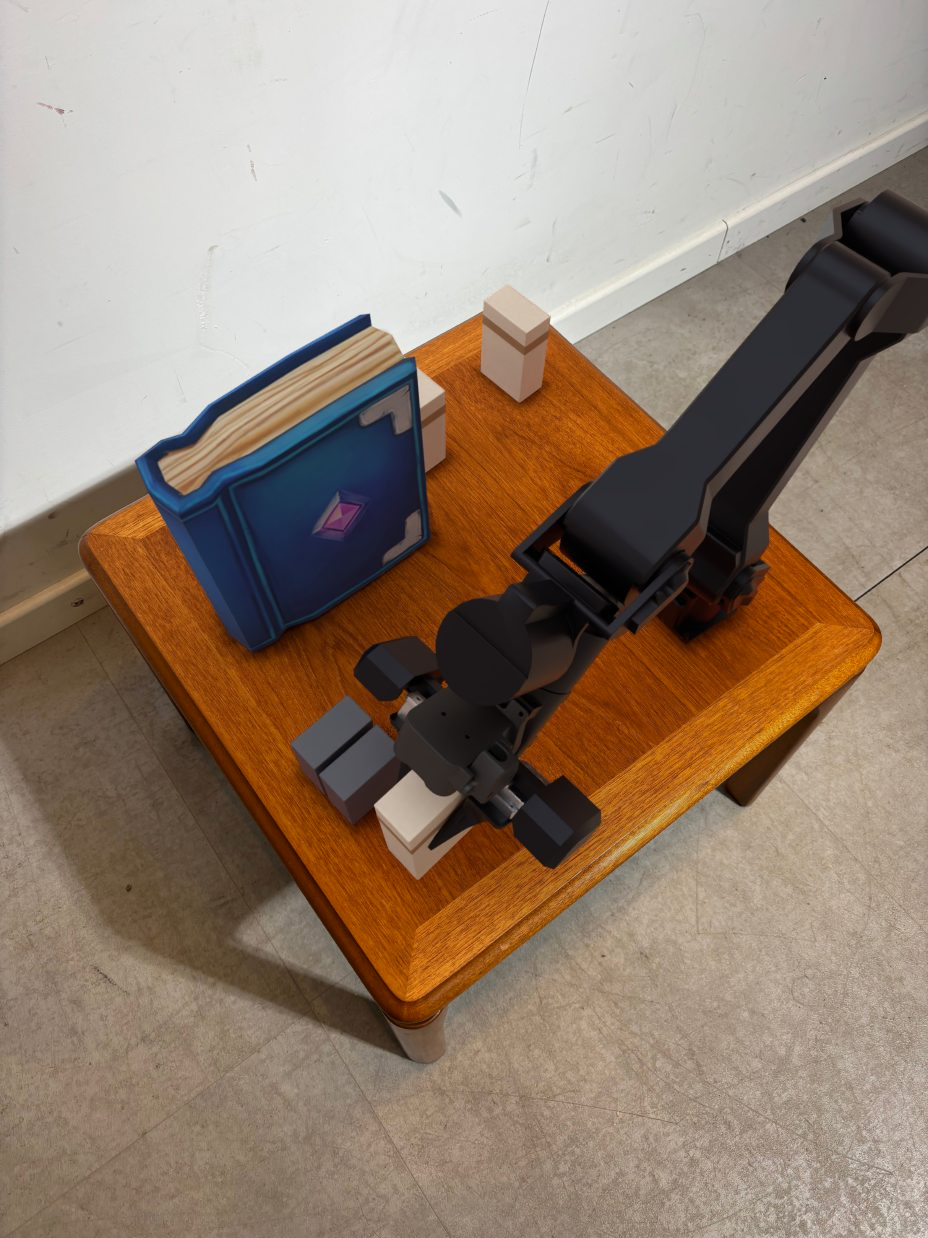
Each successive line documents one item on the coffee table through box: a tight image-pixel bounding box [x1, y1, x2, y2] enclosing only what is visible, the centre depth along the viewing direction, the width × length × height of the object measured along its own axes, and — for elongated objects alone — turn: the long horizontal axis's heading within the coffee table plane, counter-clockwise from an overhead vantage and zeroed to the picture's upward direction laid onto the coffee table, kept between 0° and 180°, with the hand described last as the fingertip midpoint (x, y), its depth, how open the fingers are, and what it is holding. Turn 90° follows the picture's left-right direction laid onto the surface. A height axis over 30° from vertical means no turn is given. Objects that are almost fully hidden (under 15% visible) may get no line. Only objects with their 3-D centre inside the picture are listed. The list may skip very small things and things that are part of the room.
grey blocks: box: [289, 694, 401, 826], centre depth 73 cm, size 6×6×7 cm
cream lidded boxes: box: [404, 283, 552, 474], centre depth 90 cm, size 6×17×10 cm, turn 133°
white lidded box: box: [373, 770, 474, 881], centre depth 64 cm, size 6×3×12 cm, turn 134°
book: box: [134, 313, 432, 654], centre depth 74 cm, size 22×7×25 cm, turn 129°
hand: (413, 828), depth 63 cm, fingers closed on white lidded box, 3 cm apart
